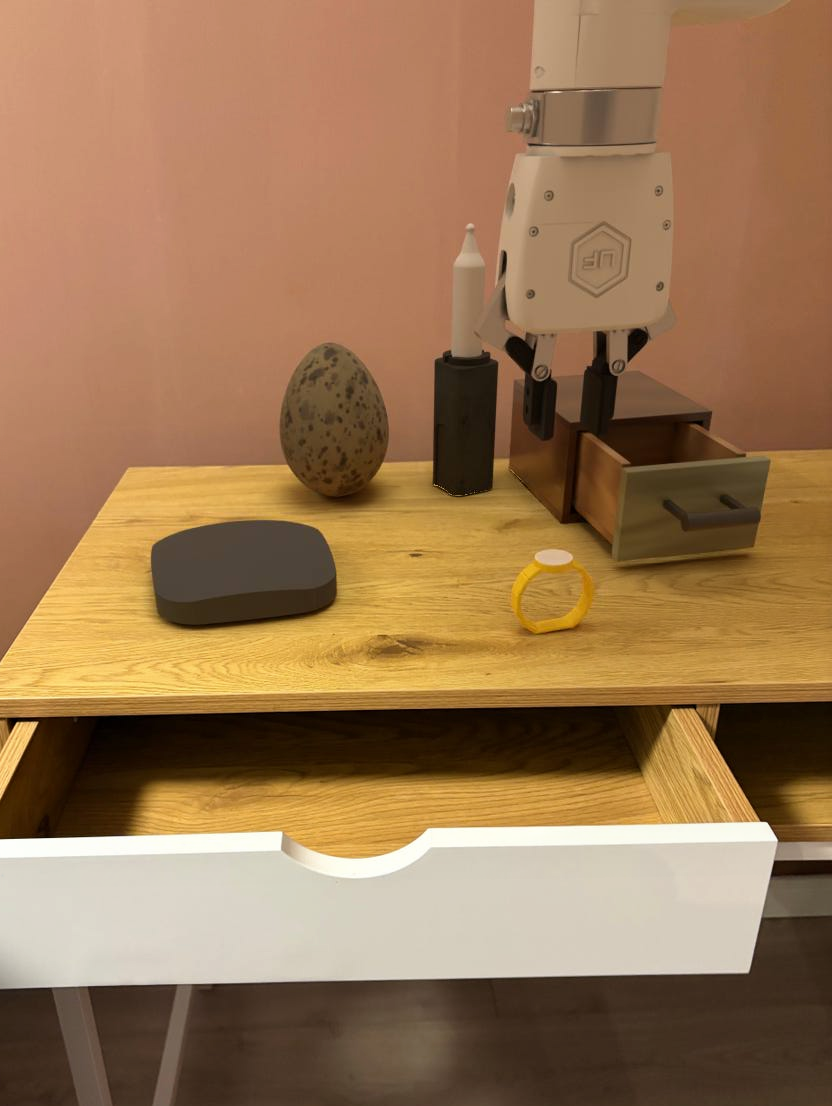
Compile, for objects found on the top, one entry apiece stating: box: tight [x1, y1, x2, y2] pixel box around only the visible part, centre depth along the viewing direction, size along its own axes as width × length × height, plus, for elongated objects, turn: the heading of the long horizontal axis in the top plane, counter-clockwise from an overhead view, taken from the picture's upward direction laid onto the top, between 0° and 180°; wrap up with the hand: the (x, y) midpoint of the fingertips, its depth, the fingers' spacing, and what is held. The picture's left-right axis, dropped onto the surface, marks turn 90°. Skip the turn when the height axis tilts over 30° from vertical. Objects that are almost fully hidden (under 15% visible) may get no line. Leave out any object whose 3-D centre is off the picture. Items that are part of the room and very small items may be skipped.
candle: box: [432, 223, 499, 495], centre depth 94 cm, size 5×5×25 cm
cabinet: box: [508, 370, 713, 524], centre depth 96 cm, size 16×14×10 cm
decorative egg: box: [279, 342, 390, 497], centre depth 95 cm, size 11×11×15 cm
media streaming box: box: [150, 519, 338, 626], centre depth 80 cm, size 15×15×3 cm
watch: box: [510, 548, 595, 635], centre depth 72 cm, size 6×3×6 cm, turn 101°
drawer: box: [571, 421, 772, 562], centre depth 84 cm, size 19×12×8 cm, turn 10°
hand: (566, 430), depth 66 cm, fingers open, 3 cm apart
